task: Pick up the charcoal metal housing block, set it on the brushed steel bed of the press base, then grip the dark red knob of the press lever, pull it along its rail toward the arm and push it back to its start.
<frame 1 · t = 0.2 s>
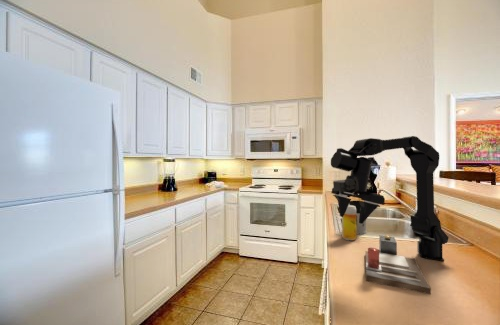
hand: (350, 219, 76), 15 cm above the countertop, tool pointing down, fingers open, 9 cm apart
housing: (387, 254, 85), on the countertop
press lever: (373, 260, 68), point 5 cm above the countertop, slide at 0.0 cm
beer can: (349, 239, 103), on the countertop
press base: (392, 271, 72), on the countertop
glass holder: (359, 233, 112), on the countertop
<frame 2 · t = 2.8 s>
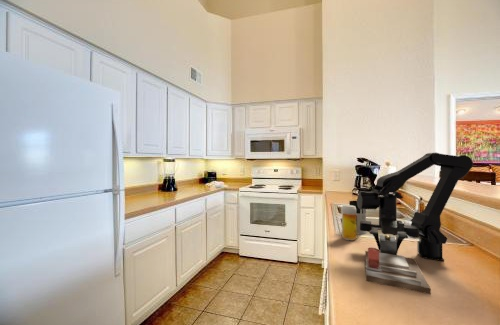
hand: (387, 251, 85), 1 cm above the countertop, tool pointing down, fingers closed on housing, 5 cm apart
housing: (387, 254, 85), on the countertop, touching gripper
everything else where it was.
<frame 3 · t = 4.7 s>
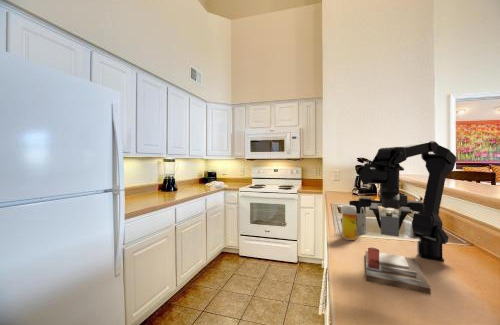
hand: (389, 229, 78), 12 cm above the countertop, tool pointing down, fingers closed on housing, 5 cm apart
housing: (389, 232, 78), point 11 cm above the countertop, touching gripper
everything else where it was.
when the fingers open (4 cm above the countertop, at t = 6.5 s): housing drops 1 cm, resting on press base.
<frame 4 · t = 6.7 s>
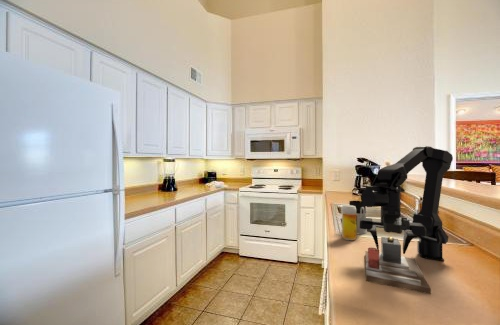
hand: (390, 251, 76), 4 cm above the countertop, tool pointing down, fingers open, 7 cm apart
housing: (390, 258, 76), point 2 cm above the countertop, touching press base
everything else where it was.
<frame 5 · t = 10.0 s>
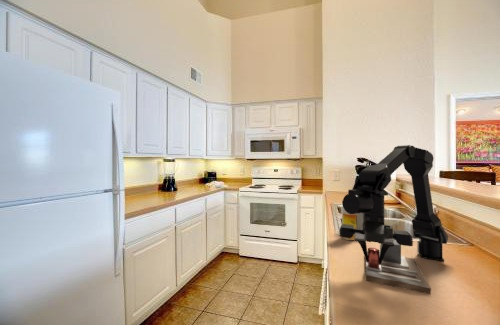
hand: (373, 262, 68), 4 cm above the countertop, tool pointing down, fingers closed on press lever, 3 cm apart
press lever: (373, 260, 68), point 5 cm above the countertop, slide at 0.0 cm, touching gripper
everything else where it was.
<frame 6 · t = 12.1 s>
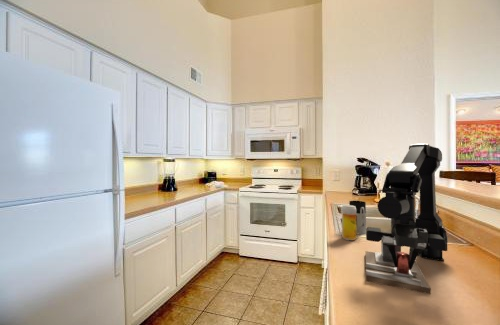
hand: (402, 267, 65), 4 cm above the countertop, tool pointing down, fingers closed on press lever, 3 cm apart
press lever: (402, 265, 65), point 5 cm above the countertop, slide at 7.4 cm, touching gripper
everything else where it was.
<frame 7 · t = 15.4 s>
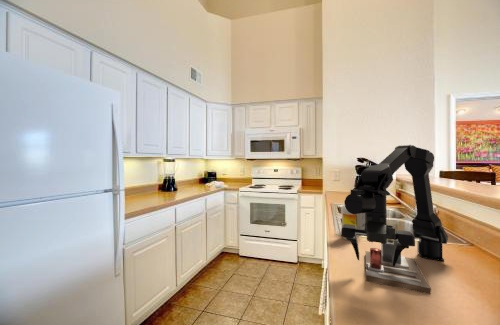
hand: (375, 262, 68), 4 cm above the countertop, tool pointing down, fingers open, 9 cm apart
press lever: (375, 260, 68), point 5 cm above the countertop, slide at 0.6 cm
everything else where it was.
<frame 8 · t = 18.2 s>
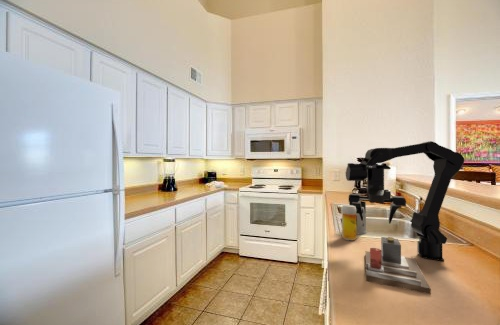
hand: (375, 221, 86), 12 cm above the countertop, tool pointing down, fingers open, 9 cm apart
nothing on the countertop moved.
at the end: housing 0.0 cm from the target spot, point 2.1 cm above the countertop; housing tilted 0°; press lever slide at 0.6 cm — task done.
